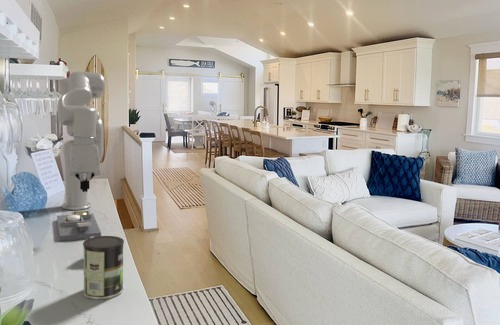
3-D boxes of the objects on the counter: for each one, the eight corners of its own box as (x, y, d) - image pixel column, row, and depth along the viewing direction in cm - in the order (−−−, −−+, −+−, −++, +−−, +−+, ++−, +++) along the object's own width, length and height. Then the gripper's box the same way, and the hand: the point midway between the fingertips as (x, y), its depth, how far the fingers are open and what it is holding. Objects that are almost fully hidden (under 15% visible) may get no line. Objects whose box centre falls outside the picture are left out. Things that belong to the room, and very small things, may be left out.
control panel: (57, 220, 176) (57, 211, 176) (92, 218, 183) (92, 209, 182) (59, 241, 152) (59, 231, 151) (101, 237, 158) (101, 227, 157)
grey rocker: (76, 225, 162) (76, 223, 163) (89, 224, 164) (88, 222, 164) (78, 226, 154) (78, 223, 154) (91, 225, 156) (91, 222, 156)
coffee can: (123, 282, 121) (123, 234, 119) (123, 298, 112) (123, 246, 110) (84, 284, 118) (84, 236, 116) (81, 301, 109) (81, 248, 107)
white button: (67, 219, 167) (67, 215, 167) (79, 218, 169) (79, 214, 169) (67, 222, 163) (67, 218, 163) (80, 221, 165) (80, 217, 165)
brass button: (74, 215, 177) (74, 211, 177) (86, 214, 179) (86, 211, 179) (75, 218, 173) (75, 214, 172) (87, 217, 175) (87, 213, 174)
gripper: (105, 140, 159) (104, 188, 162) (61, 140, 153) (62, 190, 155) (107, 142, 153) (107, 192, 155) (62, 142, 146) (63, 194, 148)
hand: (84, 191), depth 155 cm, fingers closed
